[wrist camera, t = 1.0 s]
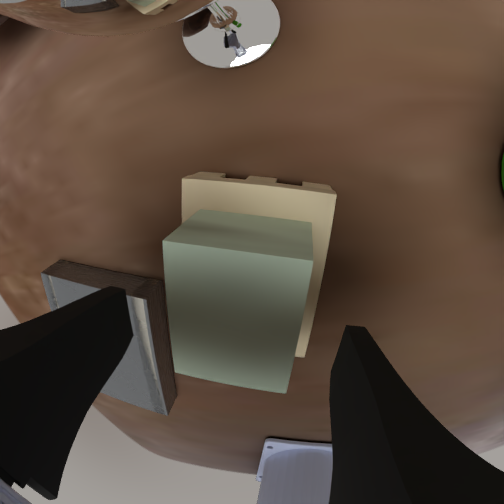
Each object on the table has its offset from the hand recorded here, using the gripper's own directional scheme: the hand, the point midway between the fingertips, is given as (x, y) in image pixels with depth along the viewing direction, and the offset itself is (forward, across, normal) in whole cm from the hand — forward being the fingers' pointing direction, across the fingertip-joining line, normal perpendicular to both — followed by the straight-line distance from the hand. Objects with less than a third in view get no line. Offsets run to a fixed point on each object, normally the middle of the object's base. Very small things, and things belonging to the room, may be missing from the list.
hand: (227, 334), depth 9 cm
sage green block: (+6, 0, 0) cm, 6 cm away
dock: (+6, +9, +7) cm, 13 cm away
